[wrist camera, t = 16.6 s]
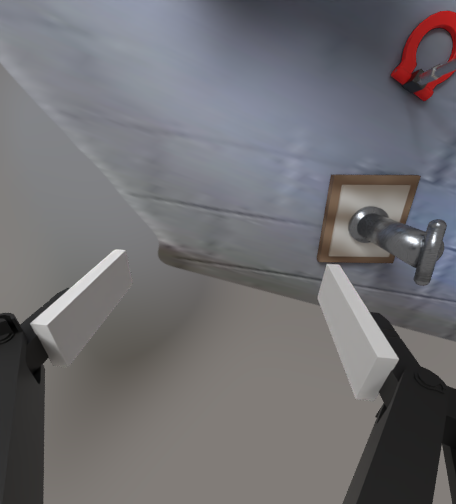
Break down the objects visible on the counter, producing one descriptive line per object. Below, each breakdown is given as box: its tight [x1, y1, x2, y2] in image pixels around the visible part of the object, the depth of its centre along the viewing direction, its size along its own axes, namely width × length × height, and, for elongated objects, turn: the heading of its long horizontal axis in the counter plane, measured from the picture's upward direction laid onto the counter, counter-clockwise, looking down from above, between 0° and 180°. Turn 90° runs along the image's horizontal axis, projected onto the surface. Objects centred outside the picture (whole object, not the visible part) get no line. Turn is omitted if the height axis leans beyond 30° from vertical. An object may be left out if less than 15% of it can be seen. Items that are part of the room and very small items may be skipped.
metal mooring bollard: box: [348, 206, 447, 286], centre depth 33 cm, size 9×6×14 cm
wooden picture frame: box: [317, 175, 421, 263], centre depth 41 cm, size 16×14×2 cm
